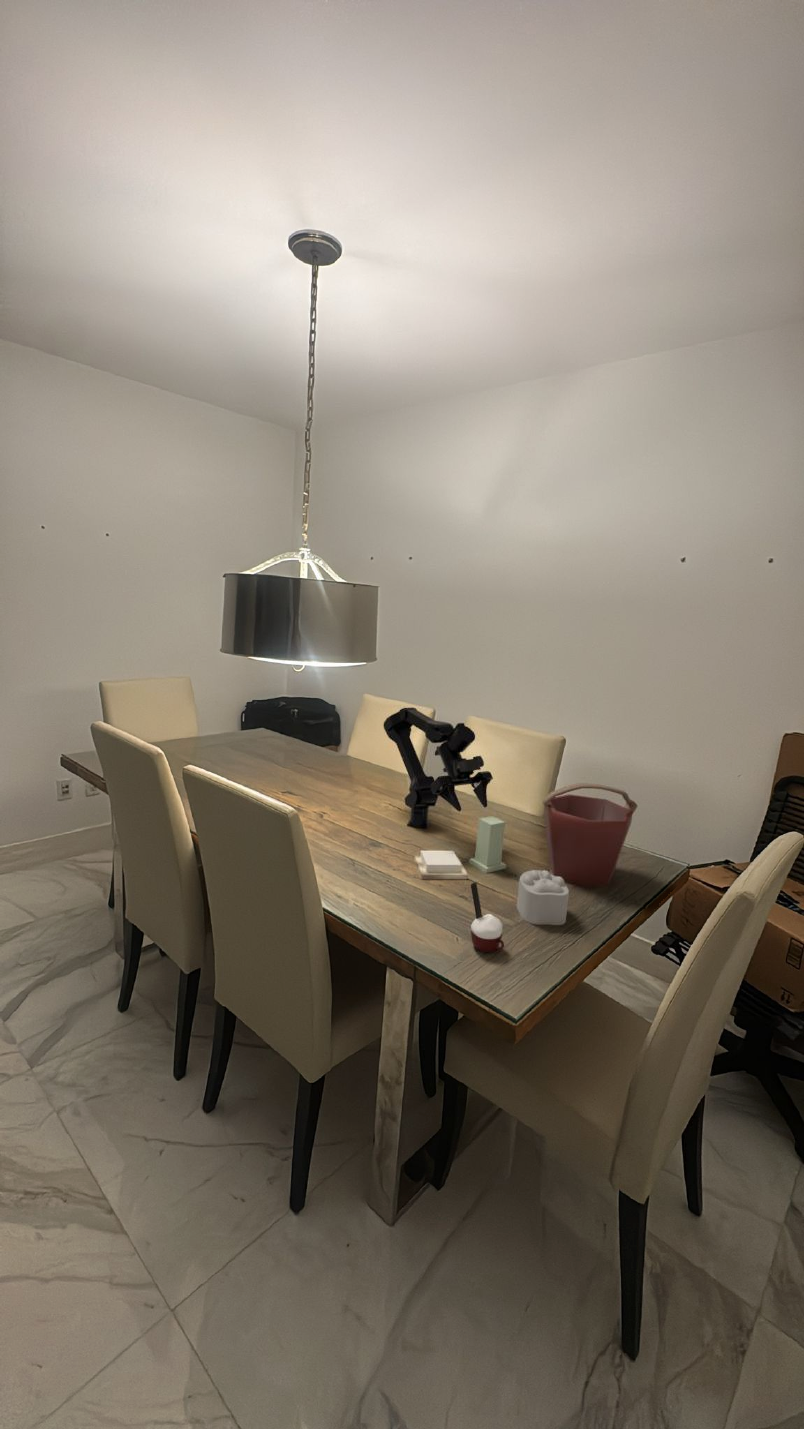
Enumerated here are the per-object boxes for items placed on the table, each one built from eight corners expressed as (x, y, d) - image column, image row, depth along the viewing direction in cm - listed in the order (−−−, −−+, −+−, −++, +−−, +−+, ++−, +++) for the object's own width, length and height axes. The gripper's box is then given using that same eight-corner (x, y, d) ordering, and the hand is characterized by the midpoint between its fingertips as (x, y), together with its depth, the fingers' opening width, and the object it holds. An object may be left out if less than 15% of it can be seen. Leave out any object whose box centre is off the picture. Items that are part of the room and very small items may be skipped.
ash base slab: (413, 862, 165) (414, 855, 165) (456, 862, 167) (457, 855, 167) (421, 881, 154) (421, 874, 153) (467, 881, 155) (467, 874, 155)
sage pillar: (469, 862, 166) (473, 817, 163) (489, 858, 169) (493, 814, 167) (485, 873, 160) (490, 826, 157) (505, 868, 163) (510, 822, 161)
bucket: (625, 866, 170) (637, 781, 166) (633, 900, 149) (646, 804, 145) (537, 851, 177) (546, 769, 172) (532, 882, 156) (543, 789, 151)
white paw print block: (524, 924, 135) (528, 888, 133) (511, 896, 147) (514, 863, 146) (570, 925, 135) (574, 889, 134) (552, 898, 148) (556, 865, 147)
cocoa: (507, 958, 121) (516, 904, 119) (478, 961, 119) (487, 906, 117) (487, 932, 130) (495, 881, 128) (460, 934, 128) (468, 882, 126)
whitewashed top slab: (420, 857, 164) (420, 850, 163) (452, 857, 165) (453, 850, 165) (426, 872, 155) (426, 864, 155) (460, 872, 156) (461, 864, 156)
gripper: (439, 748, 165) (460, 799, 158) (491, 744, 175) (514, 791, 168) (421, 768, 173) (441, 817, 166) (472, 763, 183) (493, 809, 176)
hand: (473, 808), depth 169 cm, fingers open, 9 cm apart
